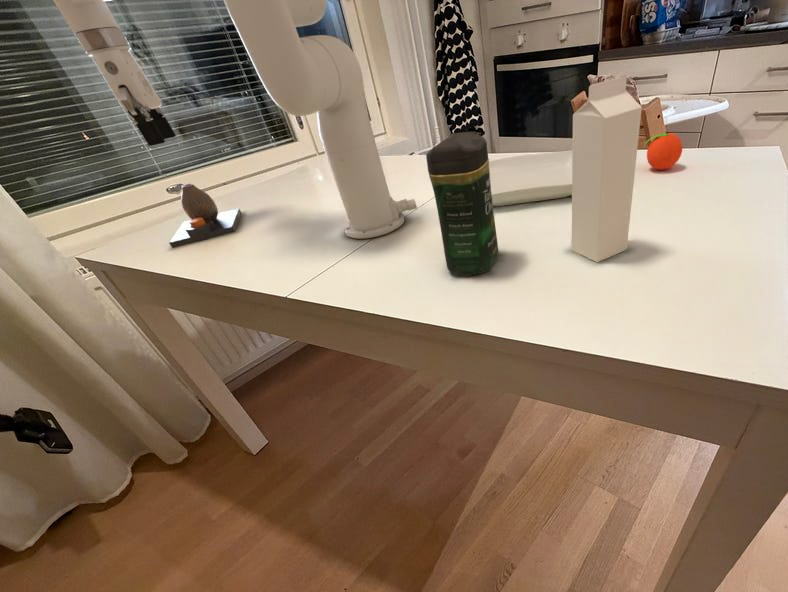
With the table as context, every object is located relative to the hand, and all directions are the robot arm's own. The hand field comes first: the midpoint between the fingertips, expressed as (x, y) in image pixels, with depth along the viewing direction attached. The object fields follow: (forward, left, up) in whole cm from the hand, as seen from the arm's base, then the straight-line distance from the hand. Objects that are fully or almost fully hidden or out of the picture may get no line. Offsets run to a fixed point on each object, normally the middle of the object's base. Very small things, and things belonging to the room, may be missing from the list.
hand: (163, 140), depth 87 cm
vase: (+1, -1, -19) cm, 18 cm away
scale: (+1, +2, -20) cm, 20 cm away
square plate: (-72, +33, -20) cm, 82 cm away
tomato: (-99, +44, -20) cm, 110 cm away
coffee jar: (-49, +61, -20) cm, 81 cm away
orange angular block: (+1, +7, -17) cm, 19 cm away
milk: (-67, +69, -20) cm, 98 cm away
